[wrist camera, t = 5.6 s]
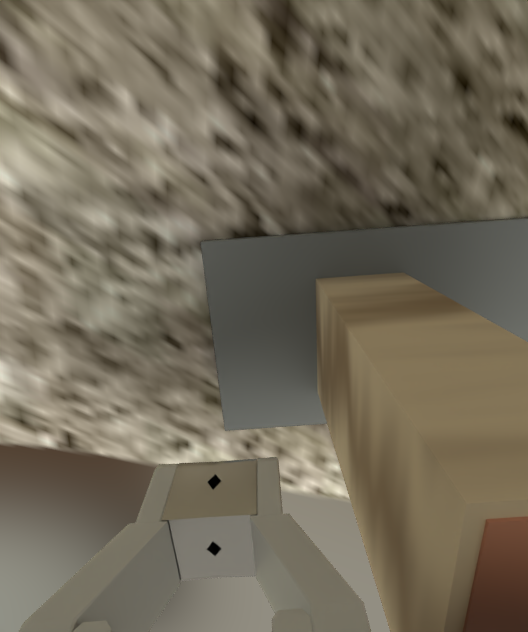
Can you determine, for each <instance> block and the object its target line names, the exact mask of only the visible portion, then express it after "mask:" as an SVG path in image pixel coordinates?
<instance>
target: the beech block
mask: <svg viewBox="0 0 528 632" xmlns="http://www.w3.org/2000/svg"><path fill="white" fill-rule="evenodd" d="M316 327H317V387H318V395H319V398H320V402H321V405H322V408H323V412H324V415H325V418H326V421H327V425H328V428H329V431H330V435H331V438H332V441H333V444H334V448H335V451H336V454H337V458H338V461H339V464H340V468H341V471H342V474H343V477H344V481H345V484H346V487H347V491H348V494H349V497H350V500H351V504H352V507H353V510H354V514H355V517H356V520H357V523H358V527H359V530H360V533H361V537H362V540H363V543H364V547H365V549H366V553H367V556H368V560H369V563H370V566H371V569H372V573H373V576H374V579H375V583H376V586H377V589H378V592H379V596H380V599H381V603H382V606H383V609H384V612H385V616H386V619H387V622H388V626H389V629H390V632H528V342H527V341H525V340H523V339H521V338H520V337H518V336H516V335H514V334H512V333H511V332H509V331H507V330H505V329H503V328H502V327H500V326H498V325H496V324H495V323H493V322H491V321H489V320H487V319H486V318H484V317H482V316H480V315H478V314H477V313H475V312H473V311H471V310H470V309H468V308H466V307H464V306H462V305H461V304H459V303H457V302H455V301H453V300H452V299H450V298H448V297H446V296H445V295H443V294H441V293H439V292H437V291H436V290H434V289H432V288H430V287H428V286H427V285H425V284H423V283H421V282H420V281H418V280H416V279H414V278H412V277H411V276H409V275H407V274H405V273H389V274H375V275H361V276H347V277H333V278H319V279H316Z"/></svg>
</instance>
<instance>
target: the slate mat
mask: <svg viewBox="0 0 528 632" xmlns="http://www.w3.org/2000/svg"><path fill="white" fill-rule="evenodd" d="M201 250H202V257H203V265H204V273H205V280H206V288H207V296H208V303H209V311H210V319H211V327H212V334H213V342H214V350H215V357H216V365H217V373H218V381H219V388H220V396H221V404H222V411H223V419H224V427H225V431H228V430H243V429H257V428H271V427H286V426H300V425H314V424H327V421H326V418H325V415H324V412H323V408H322V405H321V402H320V398H319V395H318V387H317V327H316V279H319V278H333V277H347V276H361V275H375V274H389V273H405V274H407V275H409V276H411V277H412V278H414V279H416V280H418V281H420V282H421V283H423V284H425V285H427V286H428V287H430V288H432V289H434V290H436V291H437V292H439V293H441V294H443V295H445V296H446V297H448V298H450V299H452V300H453V301H455V302H457V303H459V304H461V305H462V306H464V307H466V308H468V309H470V310H471V311H473V312H475V313H477V314H478V315H480V316H482V317H484V318H486V319H487V320H489V321H491V322H493V323H495V324H496V325H498V326H500V327H502V328H503V329H505V330H507V331H509V332H511V333H512V334H514V335H516V336H518V337H520V338H521V339H523V340H525V341H527V342H528V217H524V218H510V219H497V220H483V221H469V222H455V223H441V224H427V225H413V226H399V227H385V228H371V229H357V230H344V231H330V232H316V233H302V234H288V235H274V236H260V237H246V238H232V239H218V240H205V241H201Z"/></svg>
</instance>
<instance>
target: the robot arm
mask: <svg viewBox="0 0 528 632" xmlns="http://www.w3.org/2000/svg"><path fill="white" fill-rule="evenodd" d="M245 576H246V577H247V576H248V577H249V576H256V578H257V581H258V582H259V584H260V586H261V588H262V590H263V592H264V594H265V596H266V597H267V599H268V601H269V603H270V605H271V607H272V609H273V611H274V613H275V616H274V617H273V618H272V632H371V629H370V625H369V621H368V617H367V613H366V610H365V606H364V602H363V601H362V600H361V599H360V598H359V597H358V595H357V594H356V593H355V592H354V591H353V589H352V588H351V587H350V586H349V585H348V583H347V582H346V581H345V580H344V579H343V577H342V576H341V575H340V574H339V573H338V571H337V570H336V569H335V568H334V567H333V565H332V564H331V563H330V562H329V561H328V560H327V558H326V557H325V556H324V555H323V554H322V552H321V551H320V550H319V549H318V548H317V546H316V545H315V544H314V543H313V542H312V540H311V539H310V538H309V537H308V536H307V534H306V533H305V532H304V531H303V530H302V528H301V527H300V526H299V525H298V524H297V523H296V521H295V520H294V519H293V518H292V517H291V515H290V514H283V512H282V500H281V487H280V475H279V462H278V458H277V457H270V458H258V461H257V459H248V460H234V461H220V462H199V463H179V464H159V465H158V467H157V468H156V469H155V471H154V474H153V477H152V479H151V482H150V485H149V488H148V490H147V493H146V496H145V499H144V501H143V504H142V507H141V510H140V512H139V515H138V518H137V520H136V523H132V524H128V525H127V526H126V527H125V528H124V529H123V530H122V531H121V532H120V533H119V534H118V535H117V536H115V537H114V538H113V539H112V540H111V541H110V542H109V543H108V544H107V545H106V546H105V547H104V548H103V549H102V550H101V551H99V552H98V553H97V554H96V555H95V556H94V557H93V558H92V559H91V560H90V561H89V562H88V563H87V564H86V565H84V566H83V567H82V568H81V569H80V570H79V571H78V572H77V573H76V574H75V575H74V576H73V577H72V578H71V579H70V580H69V581H68V582H66V583H65V584H64V585H63V586H62V587H61V588H60V589H59V590H58V591H57V592H56V593H55V594H54V595H53V596H51V597H50V598H49V599H48V600H47V601H46V602H45V603H44V604H43V605H42V606H41V607H40V608H39V609H38V610H37V611H36V612H34V613H33V614H32V615H31V616H30V617H29V618H28V619H27V620H26V621H25V622H24V623H23V625H22V626H21V628H20V630H19V632H149V631H150V630H151V628H152V626H153V625H154V624H155V622H156V621H157V619H158V617H159V616H160V614H161V613H162V611H163V610H164V608H165V607H166V605H167V604H168V602H169V601H170V599H171V598H172V596H173V595H174V593H175V592H176V590H177V589H178V587H179V586H180V584H181V583H180V581H186V580H197V579H207V578H217V577H245Z"/></svg>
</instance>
